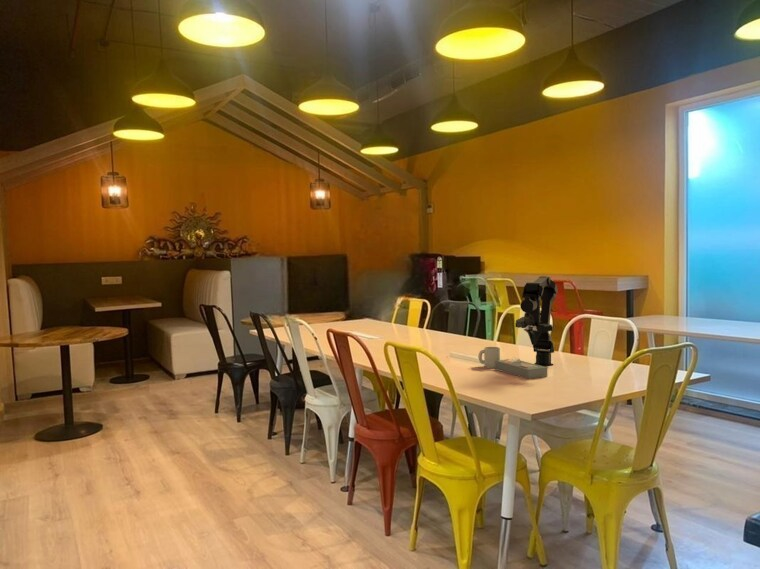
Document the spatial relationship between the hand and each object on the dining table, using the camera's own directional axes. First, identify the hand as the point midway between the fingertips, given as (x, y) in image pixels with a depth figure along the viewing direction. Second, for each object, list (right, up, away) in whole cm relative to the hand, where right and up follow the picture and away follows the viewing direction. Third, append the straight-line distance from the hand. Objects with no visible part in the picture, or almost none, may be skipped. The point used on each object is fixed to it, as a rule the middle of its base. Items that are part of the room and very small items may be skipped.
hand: (533, 345), depth 253 cm
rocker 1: (-9, -8, +4) cm, 12 cm away
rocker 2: (-4, -9, -7) cm, 12 cm away
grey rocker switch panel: (-6, -12, -2) cm, 14 cm away
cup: (-17, -12, +13) cm, 25 cm away
